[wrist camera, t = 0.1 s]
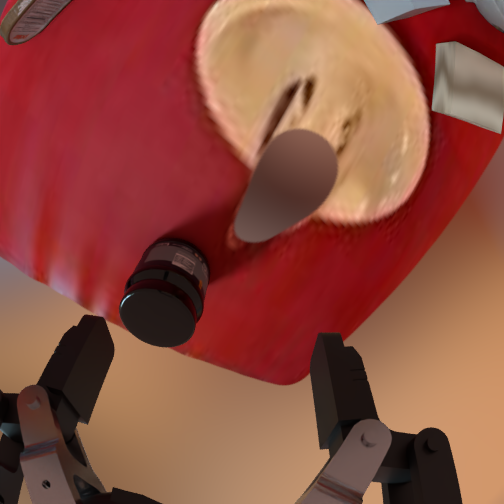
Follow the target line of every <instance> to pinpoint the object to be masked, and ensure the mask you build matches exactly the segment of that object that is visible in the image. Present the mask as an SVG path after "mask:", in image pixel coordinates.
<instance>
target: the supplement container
mask: <svg viewBox="0 0 504 504" xmlns="http://www.w3.org/2000/svg"><path fill="white" fill-rule="evenodd" d="M209 279H210V267H209V264H208V261H207V259H206V257H205V256H204V254H203V253H202V252H201V251H200V250H199V249H198V248H197V247H196V246H195V245H193V244H191V243H190V242H187V241H185V240H182V239H177V238H166V239H161V240H158V241H156V242H154V243H153V244H151V245H150V246H149V247H148V248H147V249H146V250H145V252H144V254H143V256H142V258H141V260H140V262H139V263H138V265H137V267H136V268H135V270H134V272H133V274H132V275H131V276H130V277H129V279H128V280H127V282H126V285H125V289H124V296H123V298H122V300H121V302H120V306H119V313H120V317H121V320H122V322H123V324H124V325H125V327H126V328H127V329H128V330H129V331H130V333H132V334H133V335H134V336H135V337H137V338H138V339H140V340H141V341H143V342H145V343H148V344H151V345H154V346H159V347H175V346H179V345H182V344H184V343H185V342H187V341H188V340H189V339H190V338H191V337H192V335H193V334H194V331H195V327H196V323H197V322H198V321H199V320H200V318H201V316H202V313H203V309H204V299H205V295H206V290H207V285H208V283H209Z"/></svg>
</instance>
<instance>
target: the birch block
mask: <svg viewBox="0 0 504 504" xmlns="http://www.w3.org/2000/svg"><path fill="white" fill-rule="evenodd" d="M432 110H433V111H436V112H439V113H442V114H446V115H449V116H452V117H455V118H457V119H460V120H463V121H466V122H469V123H471V124H474V125H477V126H479V127H482V128H485V129H488V130H491V131H494V132H497V133H500V134H501V129H502V121H503V113H504V67H503V66H501V65H500V64H498V63H496V62H494V61H493V60H491V59H489V58H487V57H486V56H484V55H482V54H480V53H478V52H476V51H474V50H472V49H470V48H468V47H466V46H464V45H462V44H460V43H458V42H456V41H455V42H446V43H438V44H436V65H435V81H434V93H433V103H432Z"/></svg>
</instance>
